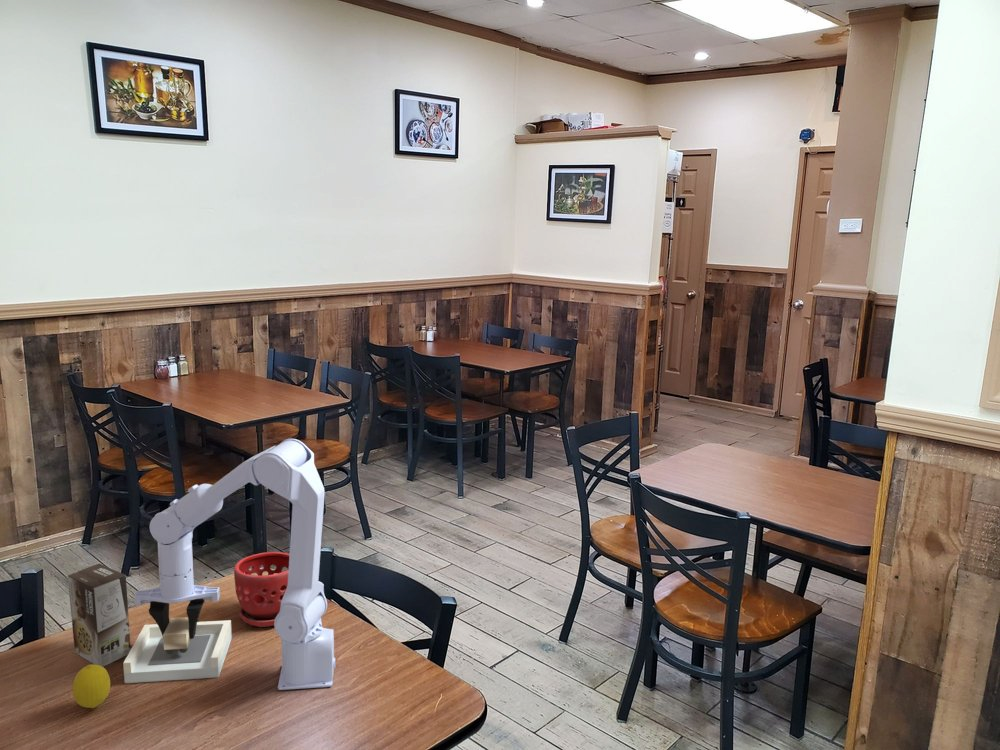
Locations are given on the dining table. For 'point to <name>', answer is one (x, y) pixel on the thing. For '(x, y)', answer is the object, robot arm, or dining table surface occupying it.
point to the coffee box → (99, 614)
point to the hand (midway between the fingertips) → (179, 636)
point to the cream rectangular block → (177, 635)
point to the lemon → (91, 686)
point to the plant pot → (261, 587)
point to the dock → (178, 654)
